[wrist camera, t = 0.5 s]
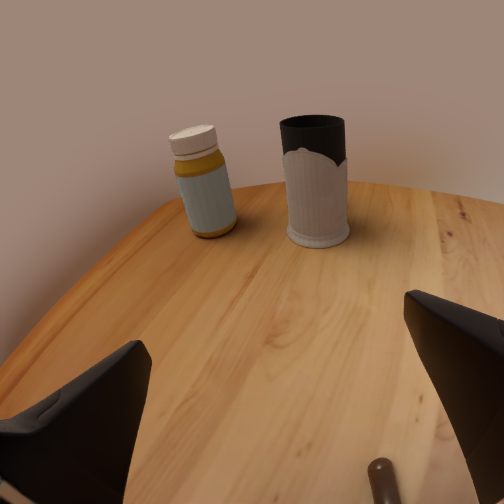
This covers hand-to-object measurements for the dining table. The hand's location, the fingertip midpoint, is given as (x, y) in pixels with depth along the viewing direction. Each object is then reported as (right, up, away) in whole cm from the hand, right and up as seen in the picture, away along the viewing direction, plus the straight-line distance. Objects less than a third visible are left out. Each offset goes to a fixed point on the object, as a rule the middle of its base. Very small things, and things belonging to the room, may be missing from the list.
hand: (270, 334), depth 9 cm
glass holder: (+10, +7, +32) cm, 34 cm away
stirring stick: (+9, -15, +2) cm, 18 cm away
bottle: (-6, +6, +35) cm, 36 cm away
